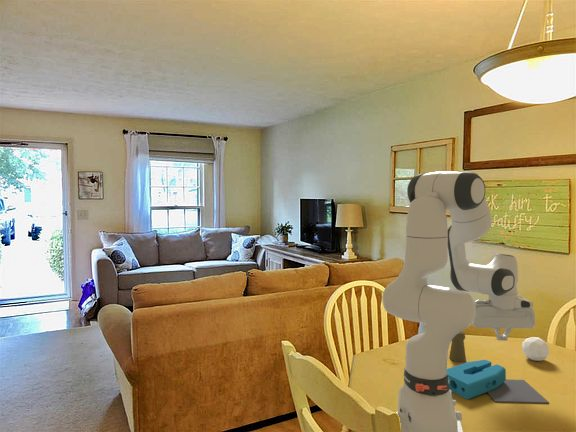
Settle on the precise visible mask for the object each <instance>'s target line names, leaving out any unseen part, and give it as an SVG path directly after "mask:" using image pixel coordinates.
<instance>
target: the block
mask: <svg viewBox="0 0 576 432" xmlns="http://www.w3.org/2000/svg"><path fill="white" fill-rule="evenodd" d="M447 373H448V378H449V388H450V390H451V391H452V392H451V393H454V394H456V395H458V396H459V397H462V398H463V399H466V400H471V399H472V398H475V397H478V396H480V395H483V394H487V392H488V391H491V390H494V389H496V388H498V387H499V386H500V385H501V384H502V383H503V382H504V381H505V380H506V379H507V374H506V373H507V371H506V368H505V367H504V366H502V365H500V364H498V363H497V364H494V365H492V361H490V360H488V359H481V360H479V359H478V360H473V361H465V362H462V363H461V364H457V365H455V366H452V367H449V368H448V367H447Z"/></svg>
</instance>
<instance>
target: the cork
mask: <svg viewBox="0 0 576 432" xmlns="http://www.w3.org/2000/svg"><path fill="white" fill-rule="evenodd" d="M465 339H466V334H465V332H464V331H463V330H462V331H460V332H459V333H458V334H456V335H455V337H454V338H453V339H452V341H451V343H450V351H449V358H448V359H449V360H451V361H453V362H456V363H466V362H467V358H466V349H465V348H466V347H465Z"/></svg>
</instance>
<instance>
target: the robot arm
mask: <svg viewBox="0 0 576 432" xmlns="http://www.w3.org/2000/svg"><path fill="white" fill-rule="evenodd" d="M406 190H407V192H406V194H407V197H408V198H407V199H408V200H409V201H408V202H409V207H408V210H407V215H406V226H405V254H404V255H405V256H404V257H405V258H404V263H403V266H402V269H401V271H400V273H399V274H398V276H397V277H396V278H395V279H394V280H392V281H391V282H390V283H388V284H387V286H385V288H384V290H383V293H382V297H381V299H382V301H381V302H382V305H383V307H384V310H385V311H386V313H388V314H390V315H391V316H394V317H396V318H399V319H401V320H405V321H410V322H413V323H414V322H415V323H419V324H420V323H421V324H423V325H425V330H424V332H422V333H418V334H415V335H413V336H411V337H410V338H409V339H408V340H407V342H406V345H405V367H404V369H403V370H404V371H403V381H404V383H403V384H402V386H401V387H400V388H399V389H398V393H397V394H398V396H397V397H398V398H397V411H395V412H396V413H397V414H398V415H399V417H400V423H401V431H400V432H464V430H463V426H462V422H461V421H462V420H463V415H462V411H458V410H456V408H455V406H457V400H456V399H454V398H453V396H452V395H453V394H452V393H453V392H452V391H451V390H450V388H449V378H448V373H447V369H448V356H449V355H448V354H449V347H450V346H451V344H452V339H453V338H454V337H455V335H456V334H458V333H459V332H460V331H462V332H463V331H464V330H466V329H467V328H469V327H470V326H471V325H472V326H473V327H474V328H479V329H480V328H482V329H484V328H485V329H488V328H489V329H493V332H494V333H495V334H496V340H497V341H502V342H503V341H505V342H507V341H508V336H509V335H510V334H511V332H512V329H534V327H535V326H536V314H535V310H534V309H533V307H534V303H533V302H532V301H531V300H528V299H527V298H525V297H523V296H519V295H518V294H519V293H518V289H517V285H518V282H519V268H518V261H517V257H516V256H514V255H511V254H506V253H505V254H504V253H497V252H496V253H492V254H491V257H490V261H489V263H488V264H480V263H473V262H470V261H469V260H468V259H467V254H466V246H465V245H466V244H467V243H471V242H475V241H477V240H479V239H482V238H483V237H484V236H486V235H487V233H488V232H490V231H489V230H490V229H491V227H492V222H493V220H492V214H491V211H490V207H489V205H488V202H487V199H486V197H485V196H486V183H485V181H484V180H483V179H482V177H481V176H480V175H479V174H477V173H476V172H475V173H474V172H470V171H462V172H461V171H460V172H459V171H442V170H441V171H434V172H428V173H427V172H423V173H419V174H416V175H415V176H413V177H411V179H410V181H409V183H408V185H407V188H406ZM447 211H448V212H449V217H450V219H451V225H450V226H449V227H448V219H447V213H446V212H447ZM448 257H449V260H448ZM448 261H449V267H450V272H449V273H450V282H451V284H452V285H453V286H454V288H453V287H448V286H442V285H435V284H433V285H432V284H429V283H428V278H429V275H431V274H434V273H437V272H440V271H441V270H443V269H444V268H445V267H446V265H447V263H448ZM468 292H472V293H476V294H482V295H488V299H483V300H479V299H477V300H475V301H474V298H473V296H471V294H469V293H468ZM501 329H504V332H503V333H500V331H501Z"/></svg>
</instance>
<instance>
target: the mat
mask: <svg viewBox="0 0 576 432" xmlns="http://www.w3.org/2000/svg"><path fill="white" fill-rule="evenodd" d="M486 394H487V395H488V396H489V397H490V398H491V400H492V401H493V402H495V403H513V404H517V403H519V404H550V402H549V400H547V399H546V398H545V397H544V396H543V395H541V393H539V392H538V391H537V390H536V389H535V388H534V387H532V385H530V383H528V382H527V381H526V380H525V379H507V378H506V380H505V381H504V382H503V383H502V384H501V385H500V386H499V387H498V388H496V389H494V390H491V391H488V392H486Z"/></svg>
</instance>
